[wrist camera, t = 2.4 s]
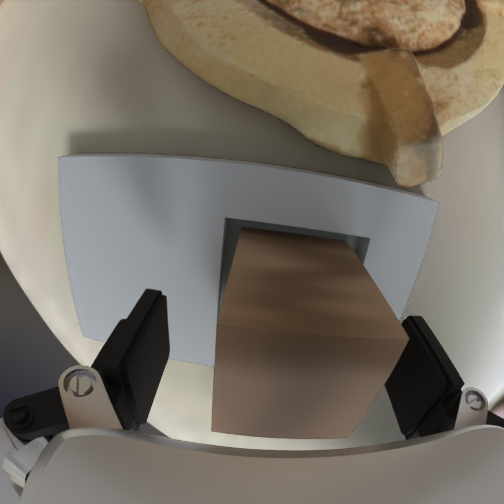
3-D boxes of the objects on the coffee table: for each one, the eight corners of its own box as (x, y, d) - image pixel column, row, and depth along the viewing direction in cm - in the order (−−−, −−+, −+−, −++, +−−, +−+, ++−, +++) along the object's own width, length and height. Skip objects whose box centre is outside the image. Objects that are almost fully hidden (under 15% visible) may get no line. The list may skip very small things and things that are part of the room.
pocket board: (424, 195, 13) (439, 202, 12) (365, 361, 18) (371, 377, 17) (74, 154, 13) (58, 157, 12) (92, 323, 18) (83, 336, 17)
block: (346, 240, 14) (409, 338, 7) (322, 325, 17) (348, 437, 9) (241, 226, 14) (216, 323, 7) (232, 315, 17) (211, 431, 9)
